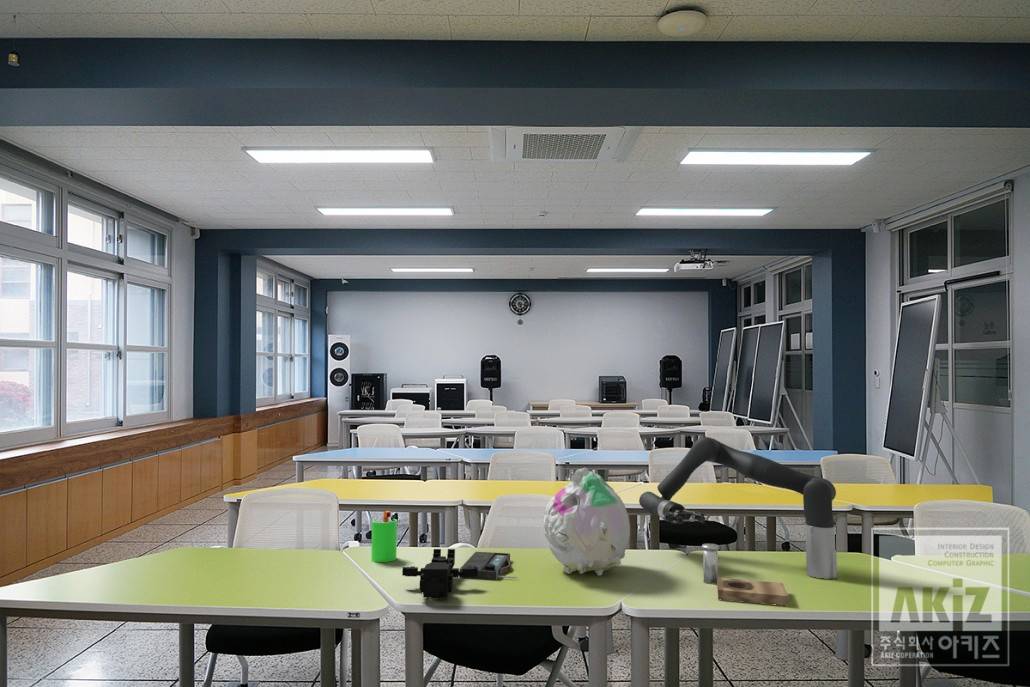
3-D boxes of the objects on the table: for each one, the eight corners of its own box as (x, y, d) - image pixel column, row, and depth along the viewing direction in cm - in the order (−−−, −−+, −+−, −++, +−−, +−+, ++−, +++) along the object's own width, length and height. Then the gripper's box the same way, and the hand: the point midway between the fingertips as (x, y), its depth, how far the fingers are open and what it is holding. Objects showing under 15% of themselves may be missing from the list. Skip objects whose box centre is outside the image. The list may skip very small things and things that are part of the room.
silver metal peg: (719, 580, 223) (718, 544, 224) (719, 585, 218) (718, 547, 219) (702, 579, 225) (702, 543, 225) (702, 583, 219) (701, 546, 220)
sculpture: (546, 595, 220) (632, 577, 211) (517, 486, 226) (600, 465, 217) (572, 570, 251) (648, 554, 242) (546, 475, 257) (619, 456, 248)
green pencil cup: (389, 555, 251) (390, 507, 252) (401, 559, 245) (402, 510, 247) (368, 559, 245) (369, 510, 246) (379, 563, 239) (380, 513, 240)
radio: (475, 548, 248) (528, 551, 245) (475, 559, 248) (528, 563, 245) (459, 565, 223) (517, 569, 220) (458, 578, 223) (517, 582, 220)
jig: (783, 592, 210) (782, 582, 211) (788, 606, 197) (788, 596, 197) (717, 586, 216) (717, 577, 216) (718, 599, 202) (718, 589, 203)
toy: (479, 549, 226) (475, 566, 196) (479, 578, 225) (475, 599, 195) (409, 548, 226) (394, 565, 196) (408, 577, 224) (393, 599, 195)
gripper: (654, 502, 247) (674, 510, 232) (688, 501, 251) (711, 509, 235) (654, 522, 247) (674, 532, 231) (688, 521, 250) (711, 530, 235)
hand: (693, 520), depth 233 cm, fingers open, 8 cm apart
